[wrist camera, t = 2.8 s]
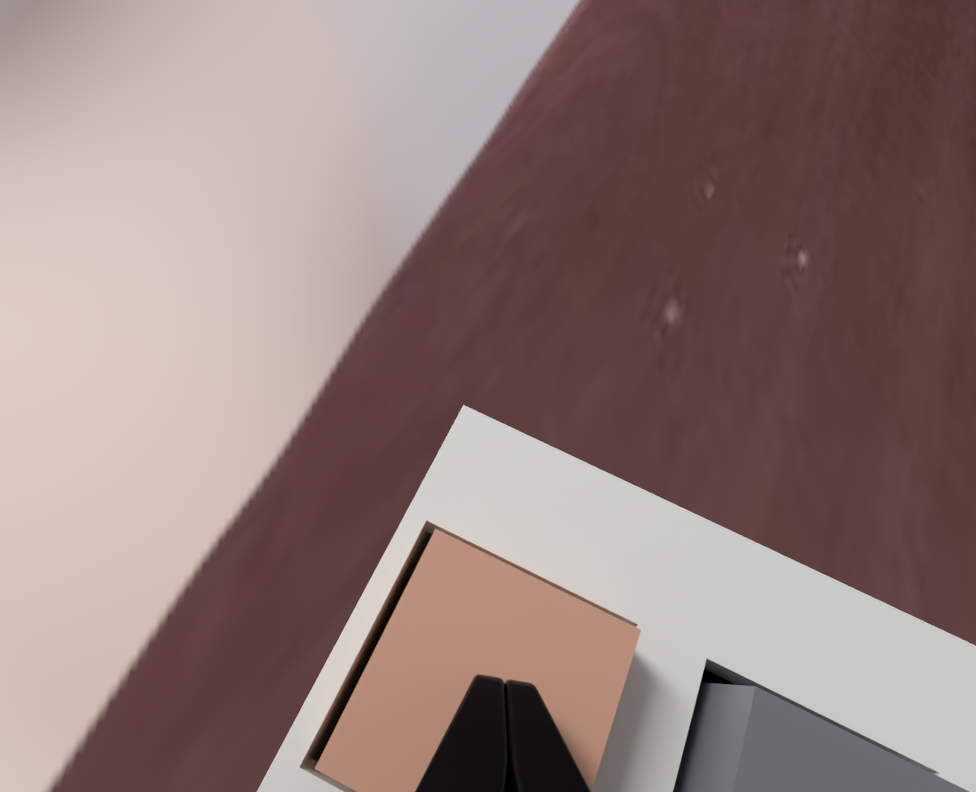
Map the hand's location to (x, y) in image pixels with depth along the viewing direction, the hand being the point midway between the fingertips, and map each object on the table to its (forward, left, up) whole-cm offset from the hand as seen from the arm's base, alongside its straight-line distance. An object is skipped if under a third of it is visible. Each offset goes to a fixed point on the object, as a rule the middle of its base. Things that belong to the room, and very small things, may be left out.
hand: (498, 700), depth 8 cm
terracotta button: (0, 0, -3) cm, 3 cm away
